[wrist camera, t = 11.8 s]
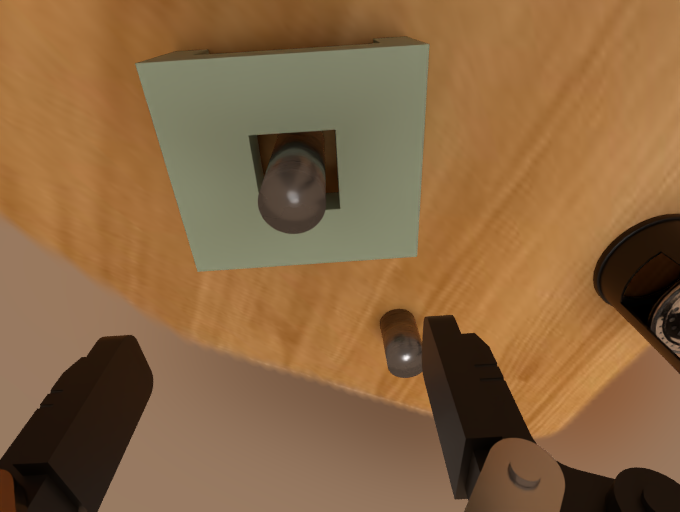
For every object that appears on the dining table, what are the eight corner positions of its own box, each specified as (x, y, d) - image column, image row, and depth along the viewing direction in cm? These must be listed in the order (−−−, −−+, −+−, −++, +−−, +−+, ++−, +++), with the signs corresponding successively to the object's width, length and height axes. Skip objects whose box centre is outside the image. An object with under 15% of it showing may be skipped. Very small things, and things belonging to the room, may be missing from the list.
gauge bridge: (406, 36, 24) (429, 44, 19) (400, 214, 30) (416, 256, 25) (174, 51, 24) (135, 63, 19) (218, 227, 30) (197, 271, 25)
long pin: (322, 117, 26) (323, 169, 18) (326, 163, 28) (328, 231, 19) (274, 120, 26) (252, 174, 18) (280, 166, 28) (263, 236, 19)
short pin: (415, 307, 35) (428, 348, 31) (413, 334, 37) (425, 376, 33) (379, 310, 35) (388, 351, 31) (379, 336, 37) (387, 379, 33)
